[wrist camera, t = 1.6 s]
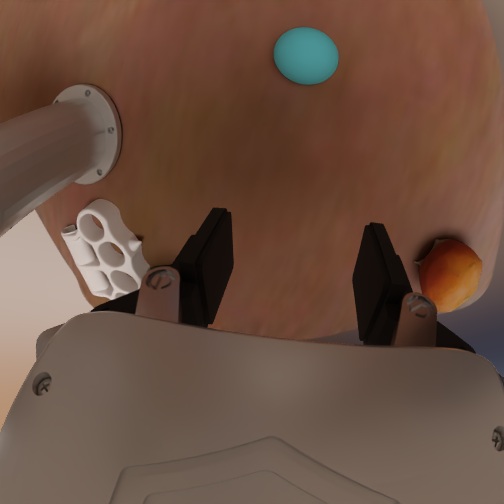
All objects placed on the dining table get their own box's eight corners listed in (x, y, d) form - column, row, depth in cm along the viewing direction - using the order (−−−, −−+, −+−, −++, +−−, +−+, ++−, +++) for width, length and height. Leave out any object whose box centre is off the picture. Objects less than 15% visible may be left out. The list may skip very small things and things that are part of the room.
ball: (276, 82, 21) (269, 82, 17) (276, 31, 18) (269, 20, 14) (334, 87, 20) (341, 88, 16) (335, 35, 17) (342, 25, 13)
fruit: (429, 218, 24) (481, 274, 18) (455, 224, 27) (497, 269, 22) (390, 276, 28) (430, 331, 23) (421, 272, 32) (456, 316, 27)
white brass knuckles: (61, 205, 34) (133, 191, 30) (105, 297, 44) (175, 303, 40) (47, 216, 31) (118, 204, 28) (96, 310, 41) (167, 319, 38)
